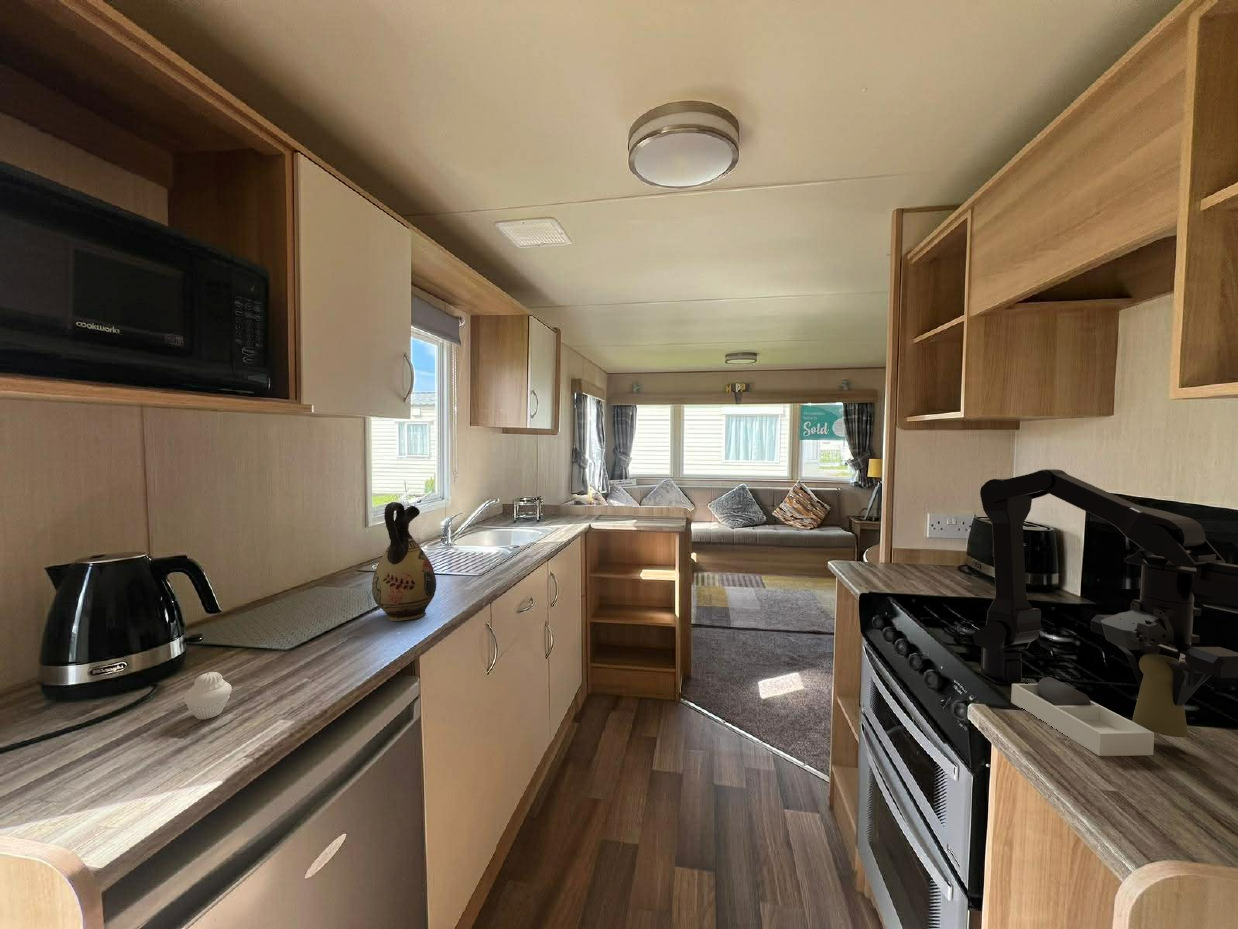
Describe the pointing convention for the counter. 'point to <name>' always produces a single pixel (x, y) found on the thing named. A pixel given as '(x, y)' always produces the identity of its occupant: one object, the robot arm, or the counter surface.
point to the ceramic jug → (403, 569)
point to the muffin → (208, 695)
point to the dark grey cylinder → (1060, 693)
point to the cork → (1159, 698)
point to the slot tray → (1087, 724)
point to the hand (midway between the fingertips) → (1160, 697)
